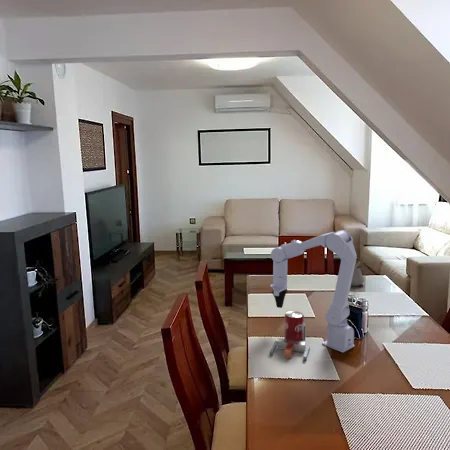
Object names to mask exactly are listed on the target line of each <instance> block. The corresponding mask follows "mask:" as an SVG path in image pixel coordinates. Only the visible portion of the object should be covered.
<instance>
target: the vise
mask: <svg viewBox="0 0 450 450" xmlns="http://www.w3.org/2000/svg"><path fill="white" fill-rule="evenodd" d="M306 326H307V324H306V323H304V332H303V341H306V338H307V337H306V334H307V333H306V332H307V331H306V329H307V327H306ZM276 349H278V340H275V341H274V343H273V344H272V347H271V348H270V351H269V356H271V357H273V356H274V353H275V352H276ZM310 351H311V346H310V345H307V346H306V347H305V352H304V353H303V356H302V361H303V362H307V360H308V357H309V353H310Z"/></svg>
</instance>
